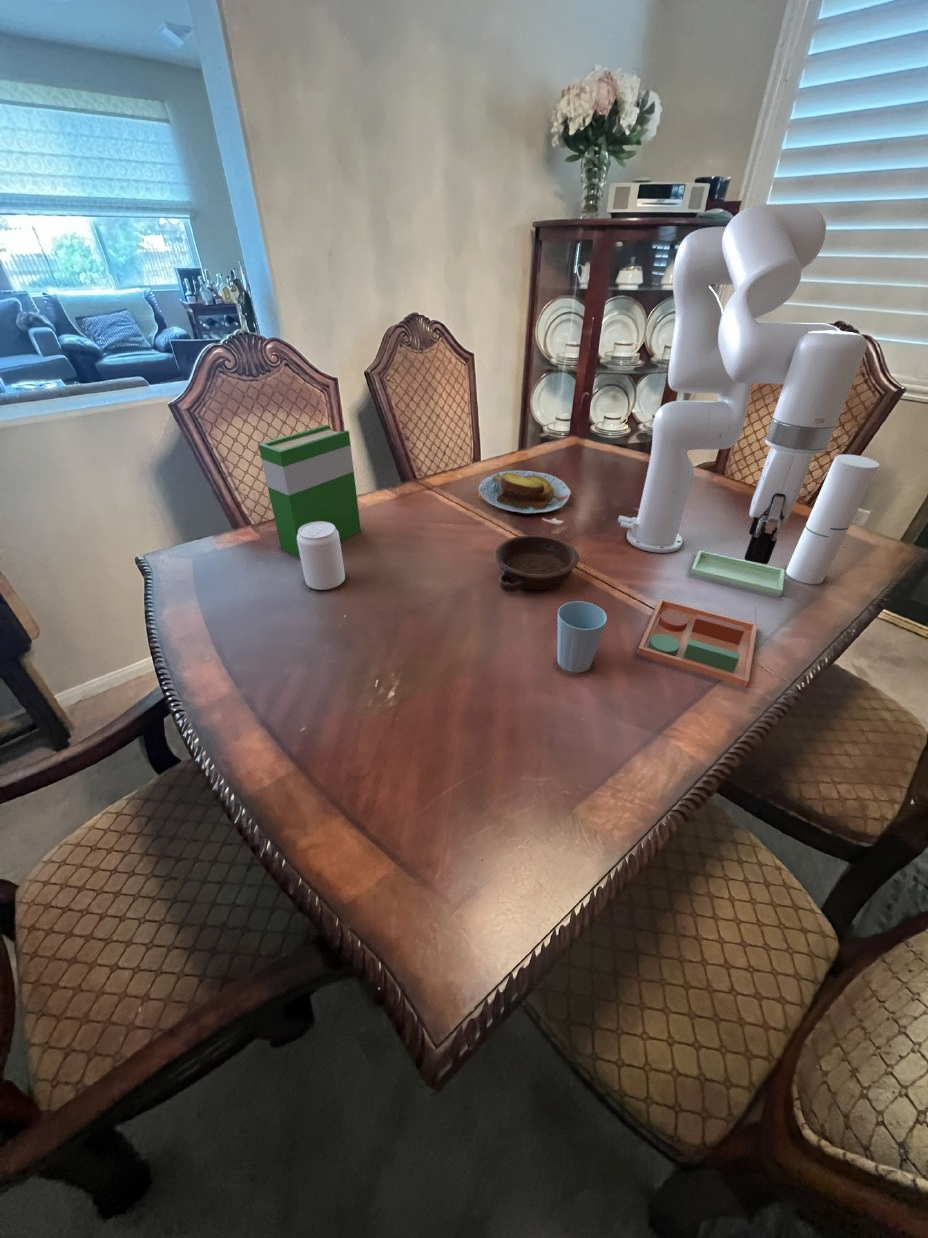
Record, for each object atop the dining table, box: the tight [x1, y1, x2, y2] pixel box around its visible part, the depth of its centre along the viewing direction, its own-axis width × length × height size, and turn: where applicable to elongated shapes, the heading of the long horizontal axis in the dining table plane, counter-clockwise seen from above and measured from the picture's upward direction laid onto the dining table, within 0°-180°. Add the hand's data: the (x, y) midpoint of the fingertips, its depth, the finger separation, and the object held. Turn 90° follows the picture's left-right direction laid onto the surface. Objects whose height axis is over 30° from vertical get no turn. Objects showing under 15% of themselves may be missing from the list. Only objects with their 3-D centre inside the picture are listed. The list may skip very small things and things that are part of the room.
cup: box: [556, 600, 608, 674], centre depth 86 cm, size 8×8×10 cm
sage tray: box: [689, 549, 786, 597], centre depth 112 cm, size 17×9×2 cm, turn 62°
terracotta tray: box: [636, 597, 758, 688], centre depth 94 cm, size 17×17×2 cm
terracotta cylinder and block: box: [659, 610, 745, 645], centre depth 95 cm, size 14×5×3 cm, turn 61°
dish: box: [494, 534, 580, 592], centre depth 111 cm, size 18×22×5 cm
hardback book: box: [257, 424, 362, 560], centre depth 118 cm, size 18×7×24 cm, turn 141°
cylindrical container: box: [785, 453, 880, 585], centre depth 106 cm, size 7×7×25 cm
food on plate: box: [477, 469, 572, 514], centre depth 143 cm, size 25×25×7 cm
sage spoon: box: [649, 634, 740, 673], centre depth 89 cm, size 14×5×3 cm, turn 61°
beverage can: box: [297, 521, 346, 591], centre depth 106 cm, size 8×8×12 cm
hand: (757, 548), depth 81 cm, fingers open, 9 cm apart
